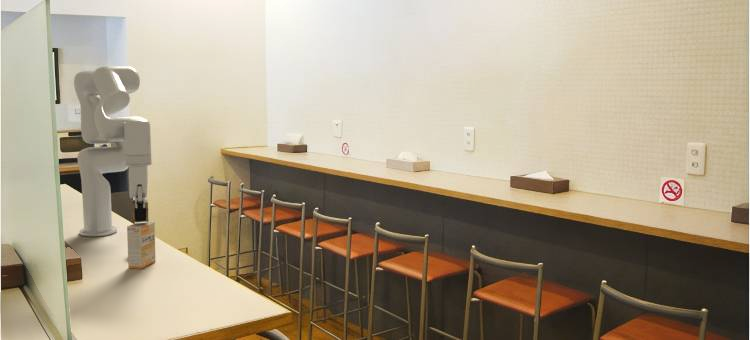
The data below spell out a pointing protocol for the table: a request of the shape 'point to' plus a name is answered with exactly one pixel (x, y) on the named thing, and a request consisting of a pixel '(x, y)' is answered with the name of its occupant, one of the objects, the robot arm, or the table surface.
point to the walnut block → (134, 211)
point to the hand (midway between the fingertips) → (140, 218)
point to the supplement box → (141, 244)
